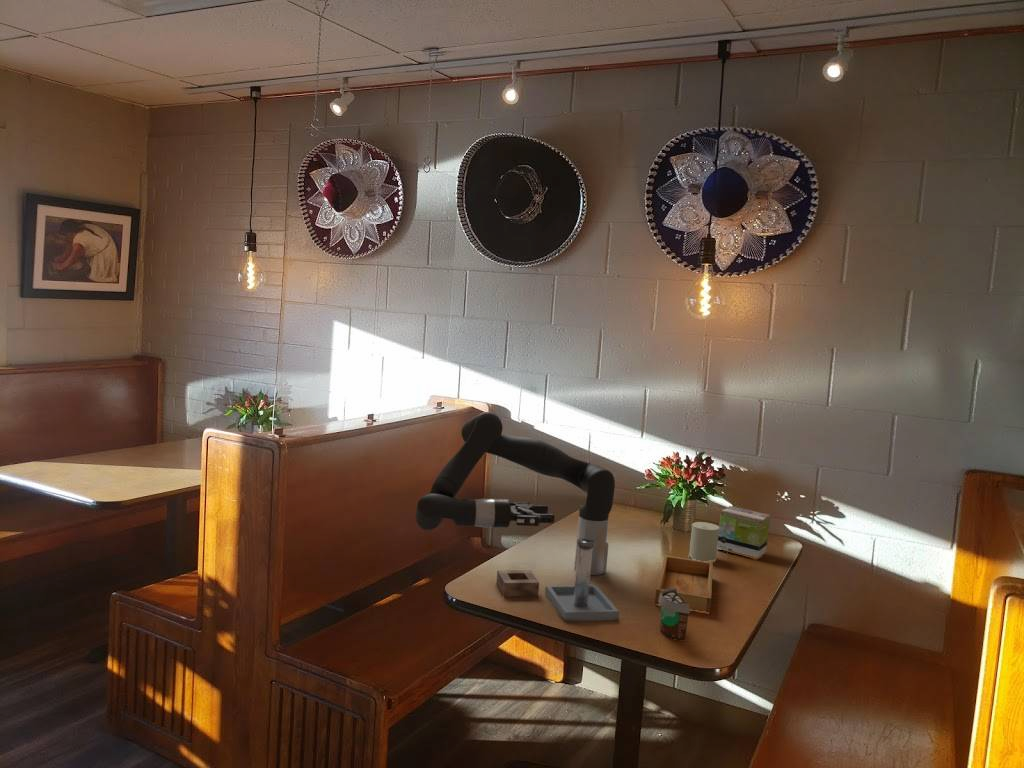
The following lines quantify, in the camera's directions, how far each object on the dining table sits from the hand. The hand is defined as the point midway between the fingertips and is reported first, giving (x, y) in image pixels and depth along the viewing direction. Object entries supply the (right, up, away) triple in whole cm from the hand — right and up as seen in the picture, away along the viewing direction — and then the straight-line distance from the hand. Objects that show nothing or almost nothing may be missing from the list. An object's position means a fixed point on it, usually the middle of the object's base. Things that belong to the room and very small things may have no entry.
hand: (550, 514), depth 213 cm
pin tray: (+8, -26, +5) cm, 28 cm away
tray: (+41, -28, +23) cm, 54 cm away
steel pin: (+8, -26, +5) cm, 28 cm away
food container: (+30, -30, -8) cm, 43 cm away
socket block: (-9, -24, +14) cm, 29 cm away
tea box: (+70, -25, +65) cm, 99 cm away
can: (+54, -24, +55) cm, 81 cm away
